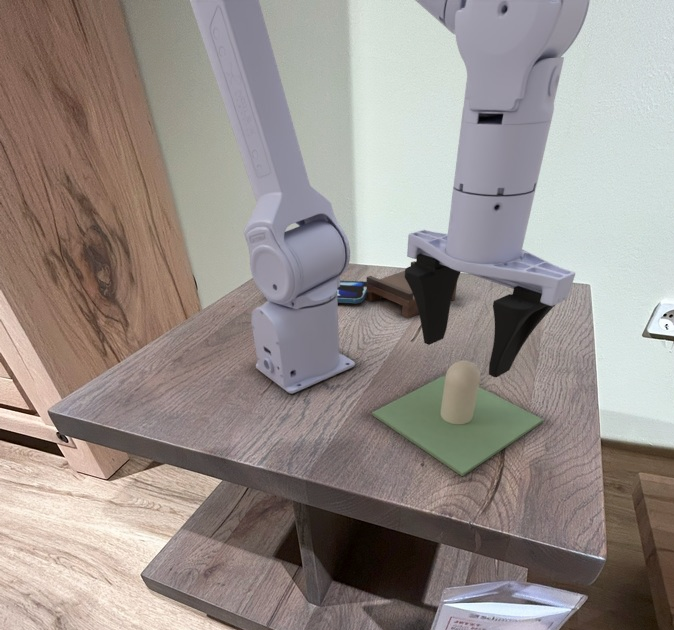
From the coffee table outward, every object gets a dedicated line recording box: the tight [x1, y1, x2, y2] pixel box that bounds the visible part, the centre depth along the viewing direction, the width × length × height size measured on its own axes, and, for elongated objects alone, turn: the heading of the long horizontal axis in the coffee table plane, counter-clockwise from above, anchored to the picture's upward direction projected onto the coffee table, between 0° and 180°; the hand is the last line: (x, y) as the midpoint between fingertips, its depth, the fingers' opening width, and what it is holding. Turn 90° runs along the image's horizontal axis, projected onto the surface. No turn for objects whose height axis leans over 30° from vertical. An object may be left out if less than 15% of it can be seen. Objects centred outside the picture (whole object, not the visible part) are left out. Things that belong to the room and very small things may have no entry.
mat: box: [371, 374, 544, 477], centre depth 46 cm, size 12×12×1 cm
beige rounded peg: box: [441, 360, 481, 425], centre depth 44 cm, size 3×3×6 cm
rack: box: [365, 260, 458, 319], centre depth 68 cm, size 10×9×4 cm
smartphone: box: [337, 279, 367, 305], centre depth 71 cm, size 7×1×15 cm
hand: (464, 355), depth 41 cm, fingers open, 7 cm apart
